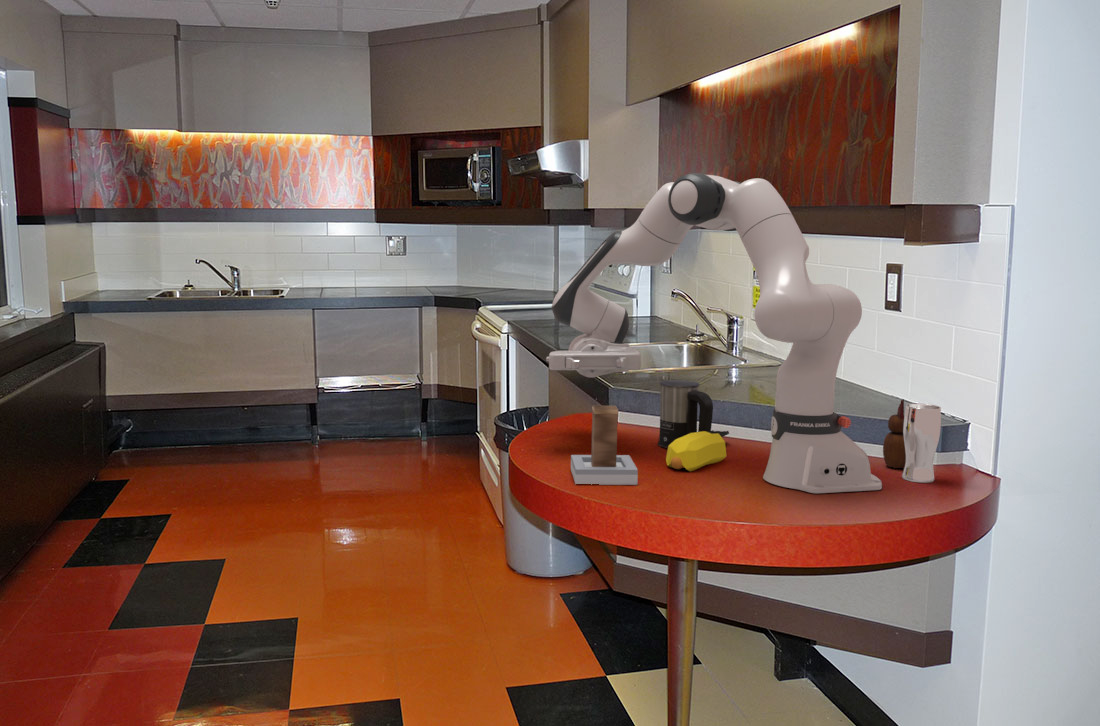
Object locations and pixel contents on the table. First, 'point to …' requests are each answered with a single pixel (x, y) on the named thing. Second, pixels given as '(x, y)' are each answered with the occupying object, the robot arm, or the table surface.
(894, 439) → the wooden figurine
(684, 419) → the milk frother
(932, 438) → the beer glass
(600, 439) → the column block
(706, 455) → the hot dog
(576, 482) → the plinth base
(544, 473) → the table surface
